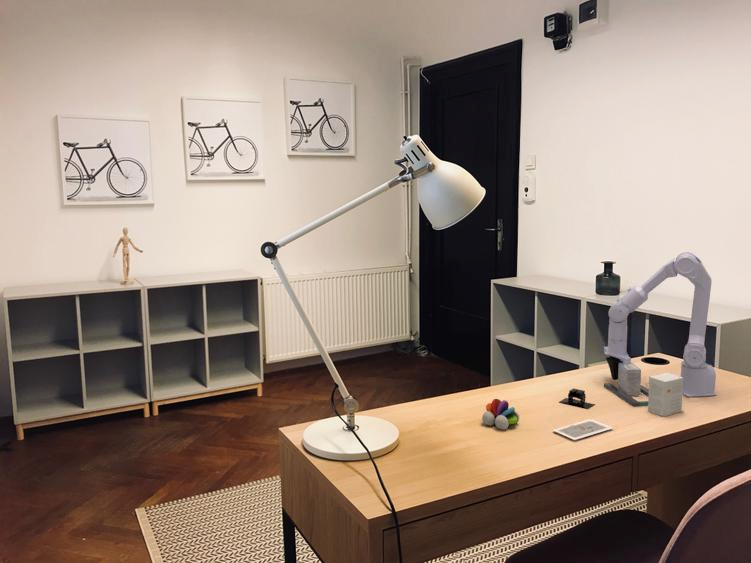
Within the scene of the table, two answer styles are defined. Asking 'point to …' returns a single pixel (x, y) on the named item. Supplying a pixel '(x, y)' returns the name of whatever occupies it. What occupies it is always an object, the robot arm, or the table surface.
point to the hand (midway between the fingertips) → (615, 379)
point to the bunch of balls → (500, 414)
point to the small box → (665, 394)
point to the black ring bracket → (577, 403)
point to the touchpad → (582, 429)
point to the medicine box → (629, 379)
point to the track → (627, 397)
